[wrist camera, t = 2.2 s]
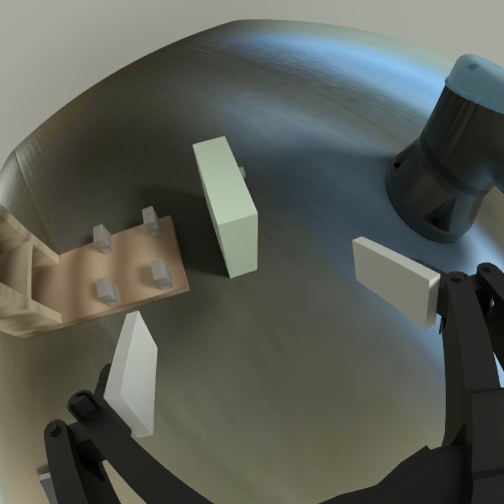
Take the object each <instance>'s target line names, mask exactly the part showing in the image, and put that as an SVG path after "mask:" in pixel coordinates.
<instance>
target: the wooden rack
mask: <svg viewBox="0 0 504 504" xmlns="http://www.w3.org/2000/svg"><path fill="white" fill-rule="evenodd" d="M142 213H143V220H144V224H142V225H139V226H136V227H133V228H130V229H127V230H125V231H122V232H119V233H116V234H113V235H111V234H110V233H109V232H108V231H107V229H106V228H105V227H104V226H103V225H102V224H101V225H98V226H96V227H93V238H94V242H92V243H89V244H87V245H84V246H81V247H79V248H76V249H74V250H71V251H69V252H66V253H64V254H61V255H59V256H58V255H57V254H56V253H55V252H54V251H52V250H51V249H50V248H49V247H47V246H46V245H45V244H44V243H43V242H41V241H40V240H39V239H38V238H37V237H36V236H34V235H33V234H32V233H31V232H30V231H29V230H27V229H26V228H25V227H24V226H23V225H22V224H21V223H20V222H19V221H18V220H16V219H15V218H14V217H13V216H12V215H11V214H10V213H9V212H8V211H7V210H6V209H5V208H4V207H3V206H2V205H1V204H0V331H2V332H5V333H7V334H10V335H13V336H16V337H19V338H22V339H24V338H27V337H31V336H35V335H39V334H42V333H46V332H50V331H53V330H57V329H60V328H64V327H68V326H71V325H75V324H78V323H82V322H85V321H89V320H92V319H96V318H99V317H103V316H106V315H110V314H113V313H117V312H120V311H123V310H127V309H130V308H134V307H137V306H140V305H144V304H147V303H150V302H154V301H157V300H160V299H164V298H167V297H170V296H174V295H177V294H180V293H184V292H187V291H190V289H189V285H188V281H187V278H186V274H185V270H184V266H183V262H182V258H181V254H180V249H179V245H178V241H177V237H176V232H175V228H174V223H173V220H172V218H171V216H170V215H169V216H166V217H163V218H160V219H159V218H158V216H157V214H156V212H155V210H154V208H153V206H151V207H148V208H145V209H142Z"/></svg>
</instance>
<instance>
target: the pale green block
mask: <svg viewBox="0 0 504 504" xmlns="http://www.w3.org/2000/svg"><path fill="white" fill-rule="evenodd" d="M193 148H194V153H195V157H196V161H197V165H198V170H199V174H200V178H201V182H202V186H203V190H204V194H205V198H206V202H207V206H208V210H209V213H210V217H211V220H212V223H213V226H214V229H215V233H216V236H217V239H218V242H219V245H220V248H221V251H222V254H223V258H224V261H225V264H226V267H227V270H228V273H229V276H230V278H232V277H236V276H239V275H242V274H245V273H248V272H251V271H254V270H257V236H258V213H257V210H256V208H255V205H254V203H253V201H252V198H251V196H250V194H249V191H248V189H247V187H246V184H245V182H244V180H243V178H246V175H245V171H244V168H243V167H238V166H237V163H236V161H235V159H234V156H233V154H232V152H231V149H230V147H229V145H228V143H227V140H226V138H225V136H223V137H219V138H215V139H211V140H208V141H204V142H200V143H197V144H193Z"/></svg>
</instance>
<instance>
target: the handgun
mask: <svg viewBox="0 0 504 504" xmlns="http://www.w3.org/2000/svg"><path fill="white" fill-rule="evenodd" d="M38 478H39V480H41V481H40V483H41V485H42V486H43V488H44V490H45V492H46V495H47V497H48V500H49V502H50V504H58V502H57V499H56V495H55V491H54V487H53V483H52V479H51V474H50V472H49V473H45V474H42V475H39V476H38Z"/></svg>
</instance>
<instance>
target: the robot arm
mask: <svg viewBox="0 0 504 504" xmlns="http://www.w3.org/2000/svg"><path fill="white" fill-rule="evenodd" d="M494 186H496V187H497V188H498V189H499V190H500V191H501V192H502V193H503V194H504V68H502V67H501V66H499V65H497V64H496V63H494V62H492V61H490V60H488V59H485V58H483V57H480V56H477V55H473V54H465V55H462V56H460V57H459V58H458V59H457V61H456V63H455V65H454V67H453V69H452V71H451V73H450V75H449V76H448V77H447V78H446V79H445V87H444V89H443V91H442V94H441V96H440V98H439V100H438V102H437V104H436V106H435V108H434V110H433V112H432V114H431V116H430V118H429V120H428V122H427V123H426V125H425V128H424V129H423V131H422V133H421V135H420V137H419V138H417V139H416V140H415V141H414V142H413V143H411V144H410V145H409V146H408V147H406V148H405V149H404V150H403V151H401V152H400V153H399V154H398V155H397V156H396V157H395V158H394V159H393V161H392V163H391V165H390V167H389V169H388V171H387V174H386V188H387V192H388V195H389V198H390V200H391V202H392V204H393V206H394V208H395V209H396V211H397V212H398V214H399V215H400V216H401V217H402V219H403V220H404V221H405V222H406V223H407V224H408V225H409V226H410V227H411V228H413V229H414V230H415V231H416V232H418V233H419V234H421V235H422V236H424V237H426V238H428V239H430V240H433V241H436V242H440V243H451V242H454V241H456V240H458V239H459V238H461V237H462V236H463V235H464V234H465V233H466V232H467V231H468V230H469V229H470V227H471V226H472V224H473V222H474V220H475V217H476V215H477V213H478V210H479V208H480V206H481V203H482V201H483V198H484V196H485V195H486V194H487V193H488V192H489V191H490V189H491V188H492V187H494ZM352 244H353V252H354V262H355V272H356V280H358V281H359V282H360V283H362V284H363V285H365V286H366V287H367V288H369V289H370V290H372V291H373V292H374V293H376V294H377V295H378V296H380V297H381V298H383V299H384V300H385V301H387V302H388V303H389V304H391V305H392V306H394V307H395V308H396V309H398V310H399V311H400V312H402V313H403V314H404V315H406V316H407V317H408V318H410V319H411V320H412V321H414V322H415V323H416V324H418V325H419V326H420V327H422V328H423V329H424V330H426V329H427V328H429V327H430V326H432V325H433V324H435V321H436V313H438V314H439V315H441V316H442V317H441V323H440V329H439V334H441V331H442V338H443V348H444V361H445V380H446V420H445V435H444V439H443V442H442V446H441V447H438V448H435V449H432V450H430V449H429V448H428V447H427V445H426V446H425V447H423V448H422V449H420V450H419V451H417V452H416V453H415V454H413V455H412V456H410V457H409V458H407V459H405V460H404V461H402V462H401V463H400V464H399V465H398V466H397V467H396V468H395V469H394V470H393V471H392V472H391V473H389V474H388V475H387V476H386V477H385V478H384V479H383V480H382V481H381V482H379V483H378V484H377V485H375V486H372V487H369V488H365V489H361V490H358V491H354V492H350V493H345V494H341V495H339V496H336V497H334V498H332V499H329V500H327V501H324V502H322V503H319V504H504V388H501V386H500V382H499V376H498V371H497V366H496V361H495V357H494V353H495V355H496V357H497V359H498V361H499V363H500V365H501V367H502V369H503V371H504V273H503V272H502V271H501V270H500V269H499V268H498V267H497V266H495V265H494V264H491V263H488V262H486V263H481V264H479V265H478V266H477V273H476V274H474V275H471V276H468V275H467V274H465V273H463V272H456V271H455V272H451V273H449V274H446V273H444V272H442V271H440V270H438V269H436V268H434V267H431V266H430V265H428V264H426V263H424V262H422V261H420V260H417V259H412V258H410V259H409V258H407V257H405V256H403V255H401V254H399V253H397V252H394V251H392V250H390V249H388V248H386V247H384V246H382V245H380V244H377V243H375V242H373V241H371V240H369V239H367V238H364V237H359V238H356V239H354V240H352ZM493 301H494V305H493ZM157 349H158V348H157V346H156V344H155V342H154V340H153V339H152V337H151V335H150V333H149V331H148V329H147V327H146V325H145V323H144V321H143V319H142V317H141V315H140V313H139V311H135V312H132V313H129V314H127V315H126V318H125V321H124V324H123V328H122V331H121V334H120V337H119V341H118V344H117V348H116V351H115V355H114V358H113V362H112V363H111V364H107V365H105V367H104V368H103V370H102V371H101V373H100V376H99V381H98V383H97V387H96V390H95V394H94V395H93V394H92V392H90V391H89V390H82V391H79V392H77V393H76V394H74V395H73V396H72V397H71V398H70V400H69V401H68V405H67V407H68V410H69V411H70V413H71V414H72V415H73V416H74V417H75V418H76V419H77V420H78V422H75V423H73V424H70V425H67V424H66V423H65V422H64V421H62V420H60V419H57V420H54V421H52V422H50V423H49V424H48V425H47V427H46V428H45V431H44V439H45V446H46V453H47V459H48V464H49V469H50V474H51V479H52V483H53V487H54V491H55V495H56V499H57V502H58V504H121V503H120V501H119V499H118V497H117V495H116V493H115V491H114V489H113V487H112V484H111V482H110V480H109V478H108V475H107V473H106V471H105V468H104V466H103V463H102V461H104V460H106V459H107V460H108V462H109V463H110V464H111V465H112V467H113V468H114V469H115V470H116V471H117V472H118V474H119V475H120V476H121V477H122V478H123V479H124V480H125V482H126V483H127V484H128V485H129V486H130V487H131V488H132V489H133V490H134V491H135V492H136V493H137V494H138V495H139V496H140V497H141V498H142V499H143V500H144V501H145V502H146V503H147V504H213V503H212V502H210V501H209V500H207V499H206V498H204V497H203V496H202V495H200V494H199V493H197V492H196V491H195V490H193V489H192V488H190V487H189V486H188V485H186V484H185V483H184V482H182V481H181V480H180V479H179V478H177V477H176V476H175V475H173V474H172V473H171V472H170V471H169V470H167V469H166V468H165V467H164V466H163V465H161V464H160V463H159V462H158V461H157V460H156V459H154V458H153V457H152V456H151V455H150V454H149V453H148V452H147V451H146V450H144V449H143V448H142V447H141V446H140V445H139V444H138V443H137V442H136V441H135V440H134V439H133V438H132V437H131V431H132V432H133V433H134V434H135V435H136V436H137V437H138V438H139V437H146V436H152V435H153V425H154V395H155V376H156V362H157ZM493 352H494V353H493Z"/></svg>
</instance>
